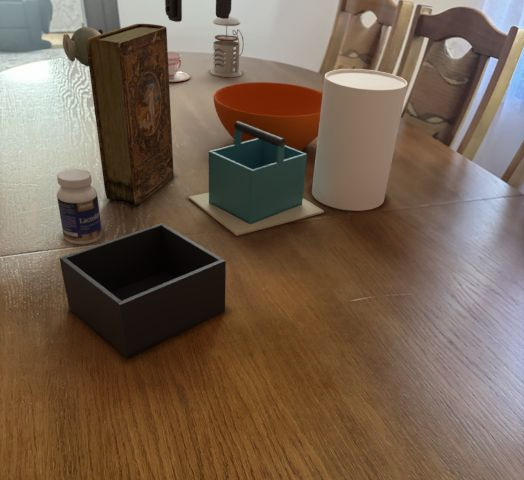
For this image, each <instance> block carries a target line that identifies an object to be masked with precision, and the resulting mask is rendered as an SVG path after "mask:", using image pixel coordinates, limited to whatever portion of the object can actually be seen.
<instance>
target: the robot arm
mask: <svg viewBox="0 0 524 480" xmlns="http://www.w3.org/2000/svg"><path fill="white" fill-rule="evenodd" d="M164 2H165V3H164V4H165V5H164V6H165V9H164V10H165V14H166V16H167V18H168V20H169V21H171V22H175V23H180V22H182V20H183V5H182V4H183V0H164ZM231 12H232V0H215V16H216V18H222V19H228V18H229V16H230V15H231Z"/></svg>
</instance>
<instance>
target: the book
mask: <svg viewBox="0 0 524 480" xmlns="http://www.w3.org/2000/svg"><path fill="white" fill-rule="evenodd" d="M167 30H168V29H167V27H166V26H164V25H161V24H152V23H135V24H131V25H128V26H124V27H121V28H118V29H114V30H110V31H107V32H103V34H101V35H97V36H94V37H90V38H88V39H87V54H88V62H89V66H88V68H89V69H88V70H89V76H90V85H91V93H92V101H93V109H94V117H95V123H96V132H97V140H98V148H99V155H100V163H101V172H102V179H103V187H104V193H105V197H106V200H122V201H127V202H129V203H131V204H133V205H134V206H137V205H139V204H141V203H143V202H144V201H145V200H146V199H147V198H149V197H150V196H151V195H153V194H154V193H155V192H156V191H158V190H159V189H160V188H162V187H163V186H164V185H165V184H167V183H168V182H169V181H170V180H172V179H173V178H174V177H175V173H174V156H173V155H174V153H173V135H172V134H173V133H172V113H171V112H172V111H171V95H170V94H171V91H170V82H169V69H168V31H167Z"/></svg>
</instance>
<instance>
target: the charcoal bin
mask: <svg viewBox="0 0 524 480" xmlns="http://www.w3.org/2000/svg"><path fill="white" fill-rule="evenodd" d="M58 259H59V263H60V264H59V265H60V269H61V274H62V275H61V276H62V278H63V284H64V289H65V294H66V299H67V305H68V310H69V311H70V312H71V313H72V314H74V315H75V316H76V317H77V318H78V319H79V320H81V322H83V323H84V324H85V325H86V326H87V327H89V328H90V329H91V330H92V331H93V332H94V333H95V334H97V335H98V336H99V337H100V338H102V339H103V340H104V341H105V342H106V343H107V344H108V345H110V346H111V347H112V348H113V349H114V350H116V351H117V352H118V353H119V354H120V355H121V356H122V357H123V358H124V359H126V360H130V359H131V358H133V357H135V356H138V355H140V354H142V353H143V352H145V351H147V350H150V349H152V348H153V347H156V346H157V345H160V344H162V343H164V342H166V341H168V340H170V339H172V338H175V337H176V336H178V335H180V334H182V333H184V332H186V331H189V330H190V329H193V328H195V327H197V326H200V325H201V324H203V323H205V322H207V321H209V320H211V319H213V318H215V317H217V316H219V315H221V314H224V313H226V279H227V278H226V275H227V272H226V269H227V260H226V259H224V258H222V257H220V256H218V255H217V254H215V253H214V252H212V251H210V250H208V249H207V248H206V247H204V246H202V245H200V244H199V243H198V242H197V243H196V242H195V241H193V240H192V239H190V238H189V237H188V236H186V235H184V234H182V233H180V232H178V231H177V230H175V229H173V228H172V227H170V226H168V225H166V224H165V223H163V222H160V223H157V224H154V225H150V226H148V227H145V228H143V229H140V230H137V231H134V232H131V233H128V234H125V235H122V236H119V237H116V238H113V239H110V240H107V241H104V242H101V243H98V244H95V245H93V246H89V247H86V248H84V249H81V250H78V251H75V252H72V253H69V254H66V255H63V256H60V257H59V258H58Z"/></svg>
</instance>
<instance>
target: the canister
mask: <svg viewBox="0 0 524 480" xmlns="http://www.w3.org/2000/svg"><path fill="white" fill-rule="evenodd" d="M322 88H323V89H322V93H323V96H322V105H321V114H320V123H319V131H318V136H317V141H316V151H315V157H314V159H315V160H314V168H313V177H312V185H311V195H312V197H313V198H314V199H315V200H316V201H318V202H319V203H321V204H323V205H325V206H327V207H331V208H333V209H337V210H343V211H355V212H356V211H357V212H359V211H369V210H373V209H376V208H378V207H380V206H382V205H383V204H384V201H385V198H386V194H387V189H388V188H387V187H388V183H389V179H390V173H391V168H392V163H393V157H394V153H395V147H396V143H397V138H398V133H399V129H400V122H401V118H402V114H403V108H404V103H405V99H406V93H407V88H408V81H407V80H406V79H405V78H403V77H401V76H399V75H396V74H393V73H390V72H385V71H379V70H373V69H364V68H341V69H339V68H338V69H334V70H330V71H327V72H326V73H325V74H324V80H323V87H322Z"/></svg>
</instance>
